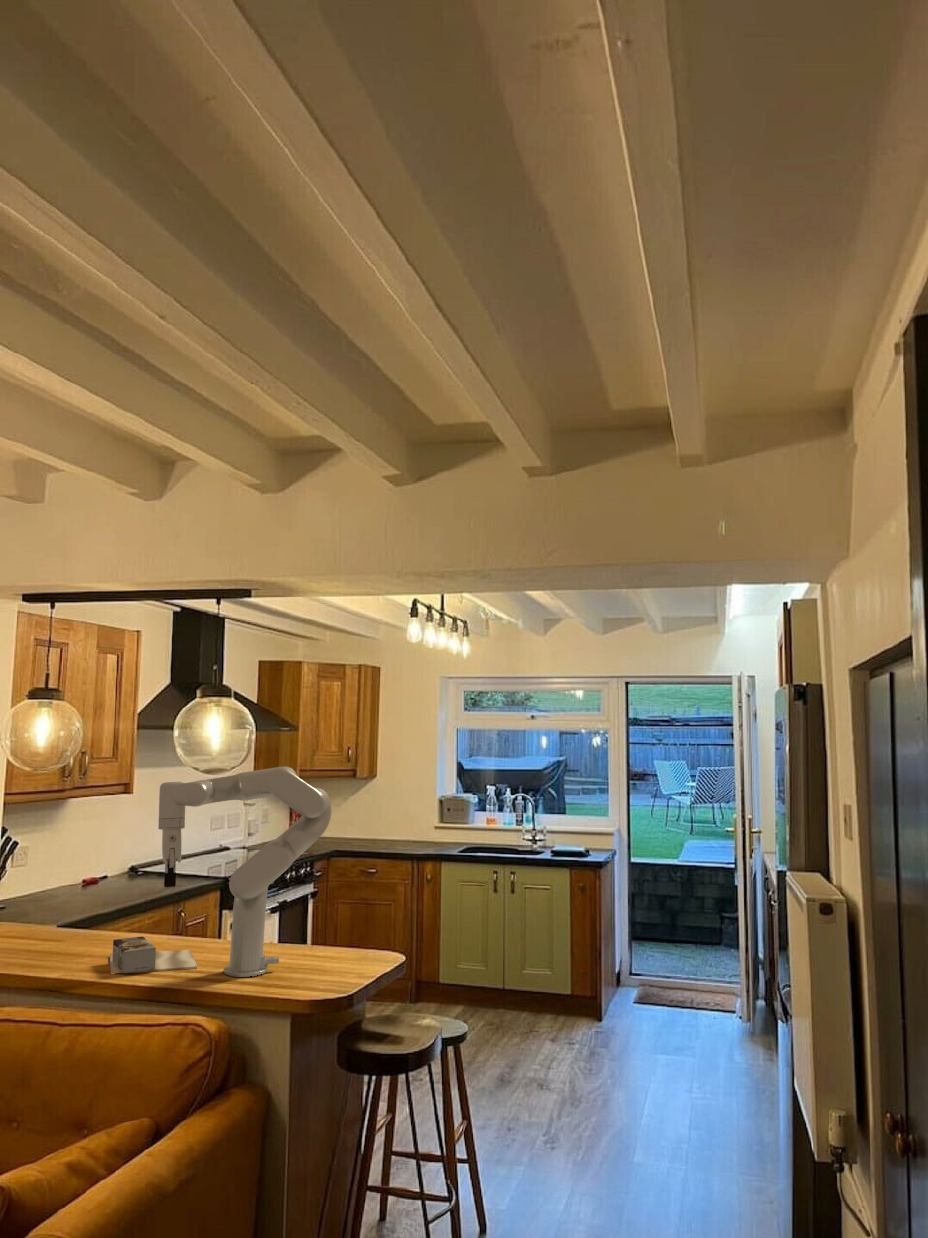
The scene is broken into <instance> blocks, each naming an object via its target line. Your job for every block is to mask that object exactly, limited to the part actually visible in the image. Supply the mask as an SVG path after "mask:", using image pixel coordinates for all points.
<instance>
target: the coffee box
mask: <svg viewBox="0 0 928 1238" xmlns="http://www.w3.org/2000/svg"><path fill="white" fill-rule="evenodd" d="M112 942H113V944H112V954H113V958H112V961H113V962H114V963H115V964H116V965H117V967H118V968H119V969H120V970H121V971H122V972H123V973H125V974H132V973H131V972H137V971H144V970H151V969H155V963H156V952H157V947H156V946H154V945H153V944H152V943H151V942H150V941H149V940H148V939H146V938H145V936H136V937H135V936H134V937H127V938H125V937H124V938H117V939H113V941H112Z"/></svg>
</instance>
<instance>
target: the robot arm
mask: <svg viewBox="0 0 928 1238" xmlns="http://www.w3.org/2000/svg"><path fill="white" fill-rule="evenodd" d="M158 795H159V797H158V798H159V801H158V802H159V803H158V826H157V827H158V830H160V831H161V830H162V839H161V840H162V841H161V850H162V851H161V853H162V854H161V855H162V861H163V863H164V874H163V875H164V876H163V886H164V888H175V887H176V886H177V872H176V868H177V867H176V866H177V862H178V863H179V864H180V863H181V862H182V830H183V829H185V826H186V825H185V823H186V807H195V808H196V807H200V806H204V805H209V804H214V803H221V802H228V801H243V802H244V801H250V800H251V801H252V800H257V799H258V800H259V799H262V798H263V799H264V798H271V797H275V798H277V799H278V800H279V801H281V803H283V804H285V805H286V806H288V807H290V808H291V809H292V810H294V811H295V812H296V813H298V814H299V815H300V817H299V818H298V820H296V821H295V822H294V823H293V824H292V825H291V826H290V827H289V828H287V829H286V830H285V831H284V832H283V833H281V834H280V835H279V836H277V837H276V838H274V839H273V840H270V841H269V842H268V843H266V844H265V845H264V846H263V847H262V848H260V849H259V850H258V851H257V852H256V853H255V854H253V855H252V856H251V857H250V858H249V859H248V860H246V861H245V862H244V863H242V865H240V866H239V867H238V868H237V869H236V870H234V871H233V872H232V874H231V876H230V877H229V878H230V879H229V883H228V884H229V885H228V886H229V890H230V893H231V895H232V896H234V899H233V907H232V908H233V909H232V920H231V921H232V922H231V933H230V934H231V936H230V950H229V951H230V952H229V953H230V954H229V964H228V965H226V966H225V967H224V968H223V974H225V975H226V976H229V977H234V978H251V977H250V976H252V977H257V975H258V976H262V975H264V974H265V973H267V972H268V968H269V967H268V966H269V965H279V963H280V958H279V957H278V956H277V957H274V956H265V954H264V947H265V944H264V943H265V926H266V914H267V913H266V912H267V897H268V892H269V891H268V889H269V886H270V885H271V884H272V883H273V882H275V881H276V880H277V879H278V878H279V877H280V876H281V875H282V874H283V873H285V872H286V871H287V870H288V869H289V868H290V867H291V866H292V865H293V864H294V862H295V861H296V860H297V859H298V858H299V857H300V856H301V855H303V853H305V852H306V851H307V850H308V849H309V848H311V847H312V845H314V844H315V842H317V841H318V840H319V839H320V838H321V836H323V834H324V833H325V831H326V830H327V828H328V826H329V824H330V821H331V817H332V802H331V800H330V799H331V798H330V796H329V794H328V793H327V792H326V790H324V789H323V788H320V787H313V786H311V785H310V784H308V783H307V781H304V780H303V779H301V777H298V775H297V773H296V771H295V769H293V768H292V767H290V766H277V767H270V768H264V769H263V768H262V769H259V770H258V769H257V770H251V771H243V772H238V773H235V774H233V775H228V776H221V777H214V778H207V779H202V780H201V779H200V780H196V781H190V782H183V781H167V782H162V783H161V784H160V786H159V794H158ZM261 974H262V975H261Z"/></svg>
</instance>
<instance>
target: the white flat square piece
mask: <svg viewBox="0 0 928 1238" xmlns="http://www.w3.org/2000/svg"><path fill="white" fill-rule="evenodd" d="M112 958H113V953H111V954H109V965H110V966H109V967H111V969H110V974H111V973H123V972H122V971H121V970H120V969H119V968H118V967H117V965H116V964H115V963H114V962H113V961H112ZM196 969H198V965H197V963H196V960H195V958H194V955H193V953H192V951H191V949H176V950H161V951H156V963H155V969H151V970H144V971H137V972H131V973H130V974H136V973H138V974H140V973H152V972H164V971H165V972H166V971H181V970H182V971H183V970H196Z"/></svg>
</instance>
